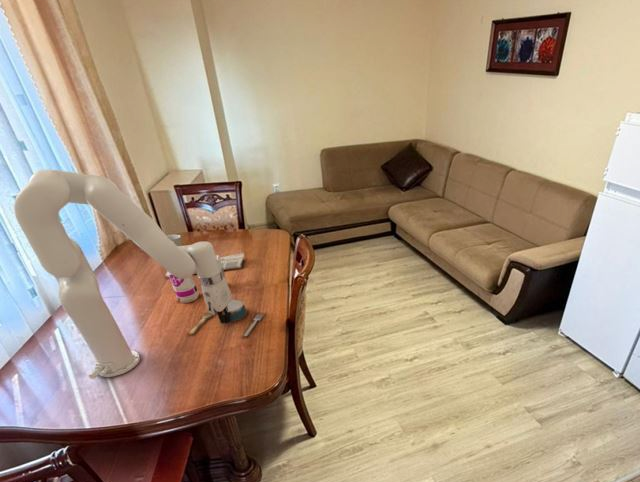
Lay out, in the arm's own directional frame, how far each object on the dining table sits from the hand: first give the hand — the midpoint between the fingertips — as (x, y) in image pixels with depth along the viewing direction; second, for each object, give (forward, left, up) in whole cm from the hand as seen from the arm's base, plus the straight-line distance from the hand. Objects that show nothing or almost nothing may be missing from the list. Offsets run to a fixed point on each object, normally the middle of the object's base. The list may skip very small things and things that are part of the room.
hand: (225, 322), depth 143 cm
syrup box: (+27, +16, -2) cm, 32 cm away
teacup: (+65, +62, -2) cm, 90 cm away
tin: (+7, 0, -2) cm, 7 cm away
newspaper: (+48, +33, -2) cm, 58 cm away
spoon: (+1, +11, -2) cm, 11 cm away
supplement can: (+18, +26, -2) cm, 32 cm away
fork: (+1, -10, -2) cm, 10 cm away
